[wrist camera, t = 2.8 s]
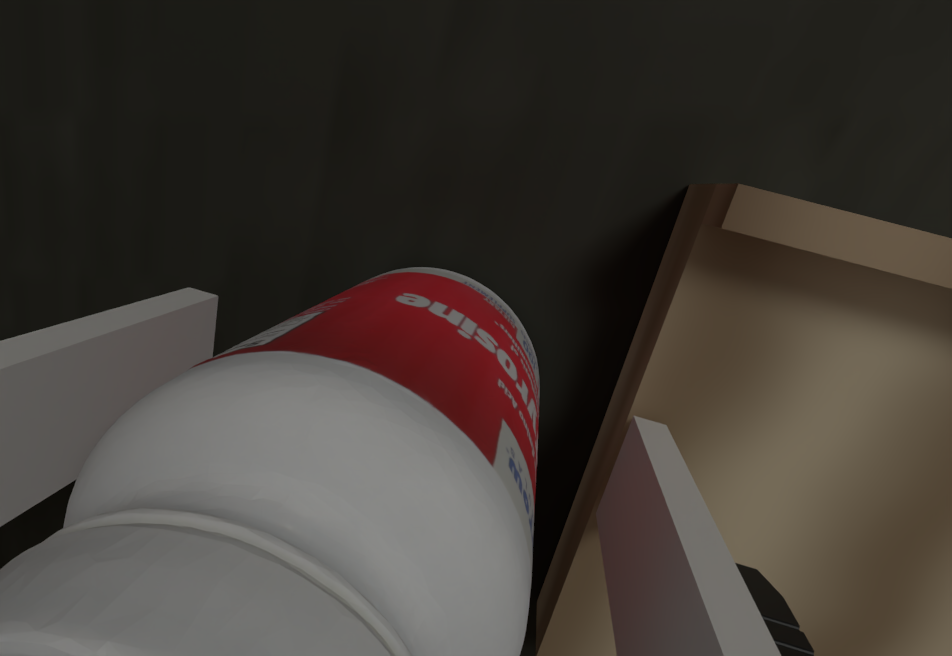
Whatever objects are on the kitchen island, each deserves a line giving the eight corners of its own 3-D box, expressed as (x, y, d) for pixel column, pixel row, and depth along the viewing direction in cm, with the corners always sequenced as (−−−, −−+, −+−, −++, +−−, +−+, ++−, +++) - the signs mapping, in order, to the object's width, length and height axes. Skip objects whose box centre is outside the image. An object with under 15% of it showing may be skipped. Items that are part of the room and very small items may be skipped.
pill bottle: (580, 414, 14) (685, 1121, 3) (401, 498, 16) (92, 1164, 5) (464, 217, 13) (101, 359, 2) (284, 329, 14) (-418, 715, 4)
